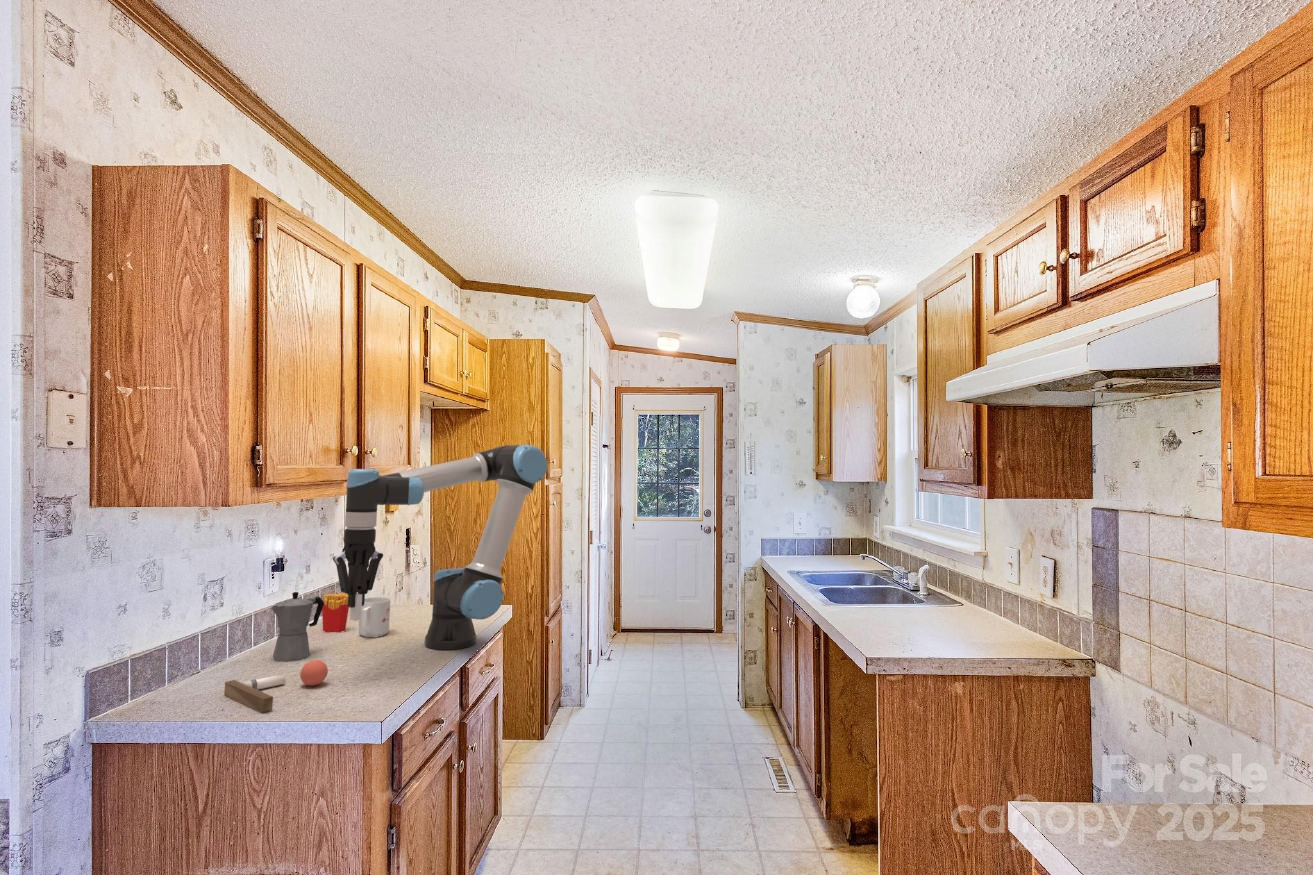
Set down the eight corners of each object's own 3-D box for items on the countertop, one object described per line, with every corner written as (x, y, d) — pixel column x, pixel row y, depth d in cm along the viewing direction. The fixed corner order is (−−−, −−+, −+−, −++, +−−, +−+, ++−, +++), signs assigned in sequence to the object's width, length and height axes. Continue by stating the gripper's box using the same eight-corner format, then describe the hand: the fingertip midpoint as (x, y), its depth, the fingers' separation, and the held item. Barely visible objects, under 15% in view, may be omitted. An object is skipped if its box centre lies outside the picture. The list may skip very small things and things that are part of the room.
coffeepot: (278, 665, 173) (282, 597, 174) (257, 659, 178) (262, 593, 179) (330, 652, 187) (334, 589, 188) (310, 647, 191) (314, 585, 192)
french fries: (318, 632, 208) (321, 594, 209) (324, 629, 212) (326, 592, 213) (345, 632, 209) (347, 595, 209) (350, 629, 213) (352, 592, 213)
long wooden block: (233, 692, 152) (234, 679, 152) (272, 710, 142) (273, 696, 142) (224, 695, 150) (225, 681, 150) (262, 713, 140) (263, 699, 140)
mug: (366, 630, 212) (368, 596, 213) (393, 631, 212) (395, 597, 213) (348, 640, 200) (350, 603, 201) (376, 641, 200) (378, 605, 201)
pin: (284, 671, 159) (245, 679, 152) (286, 680, 158) (247, 688, 151) (280, 677, 160) (242, 685, 153) (283, 686, 159) (244, 694, 152)
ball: (290, 676, 157) (308, 688, 161) (302, 680, 154) (321, 691, 157) (307, 653, 161) (324, 665, 164) (319, 656, 157) (337, 669, 161)
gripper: (374, 525, 176) (369, 613, 175) (328, 528, 165) (322, 621, 164) (391, 527, 172) (386, 617, 171) (344, 530, 161) (339, 626, 160)
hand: (355, 619), depth 168 cm, fingers closed
